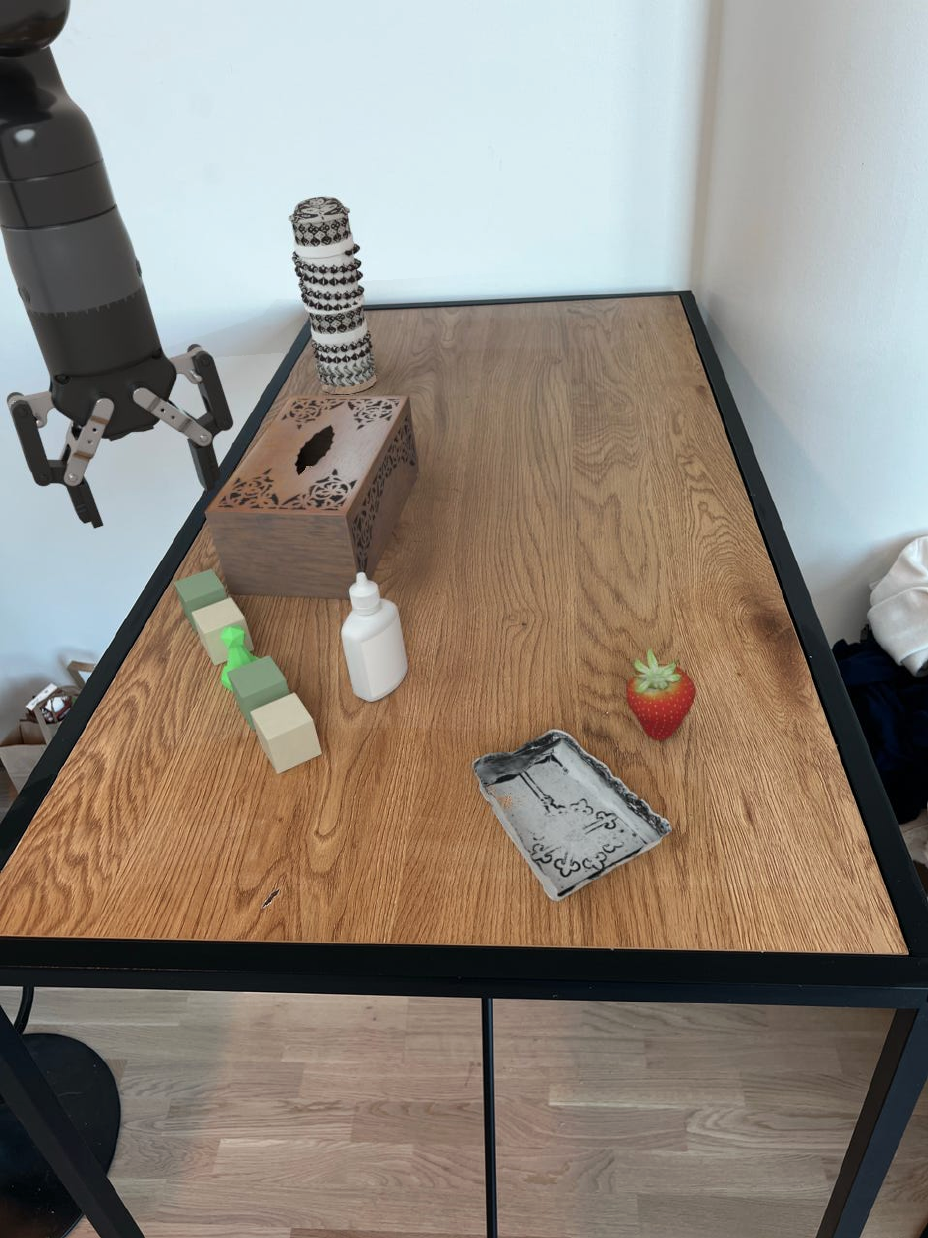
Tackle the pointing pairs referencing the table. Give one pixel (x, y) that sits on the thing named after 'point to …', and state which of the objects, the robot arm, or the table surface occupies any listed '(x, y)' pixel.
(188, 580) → the block far
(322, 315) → the black white cylinder
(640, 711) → the fruit
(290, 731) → the block near
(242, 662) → the game piece
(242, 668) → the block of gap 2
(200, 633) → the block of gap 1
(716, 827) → the table surface
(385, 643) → the eye dropper bottle
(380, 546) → the tissue box cover
